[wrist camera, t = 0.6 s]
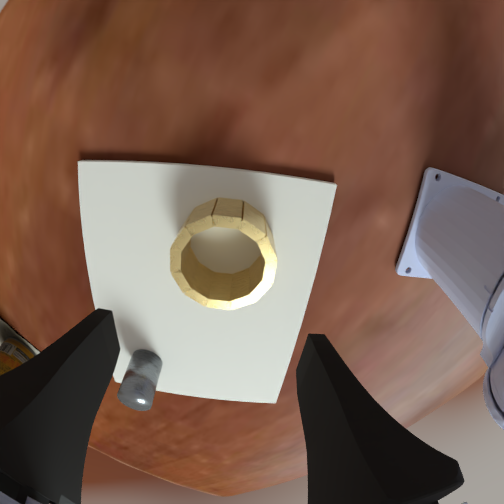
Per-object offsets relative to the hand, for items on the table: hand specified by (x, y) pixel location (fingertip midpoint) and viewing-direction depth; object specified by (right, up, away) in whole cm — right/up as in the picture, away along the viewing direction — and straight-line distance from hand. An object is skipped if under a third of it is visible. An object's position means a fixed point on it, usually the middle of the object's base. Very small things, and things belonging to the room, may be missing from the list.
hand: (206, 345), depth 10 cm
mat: (-3, -1, +11) cm, 11 cm away
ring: (0, +4, +8) cm, 9 cm away
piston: (-7, -6, +13) cm, 16 cm away
